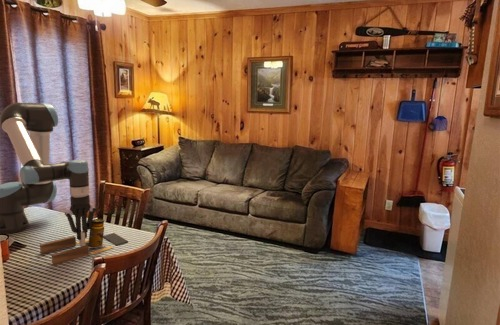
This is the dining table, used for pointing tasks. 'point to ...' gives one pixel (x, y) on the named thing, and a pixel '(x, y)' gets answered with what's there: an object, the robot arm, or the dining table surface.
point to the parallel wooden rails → (64, 255)
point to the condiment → (96, 234)
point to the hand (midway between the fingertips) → (82, 245)
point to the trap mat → (115, 239)
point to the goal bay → (98, 250)
